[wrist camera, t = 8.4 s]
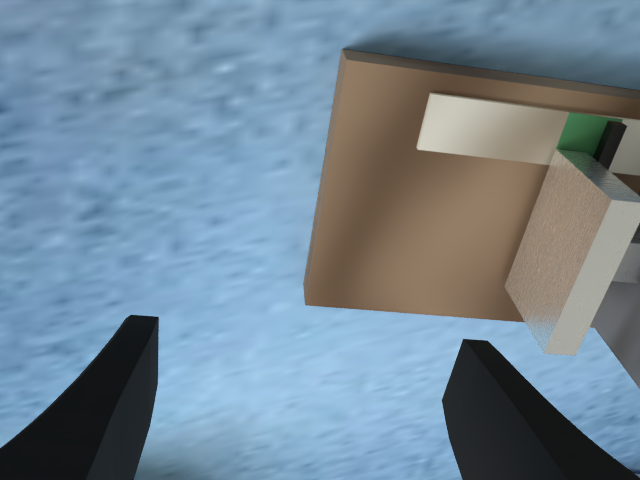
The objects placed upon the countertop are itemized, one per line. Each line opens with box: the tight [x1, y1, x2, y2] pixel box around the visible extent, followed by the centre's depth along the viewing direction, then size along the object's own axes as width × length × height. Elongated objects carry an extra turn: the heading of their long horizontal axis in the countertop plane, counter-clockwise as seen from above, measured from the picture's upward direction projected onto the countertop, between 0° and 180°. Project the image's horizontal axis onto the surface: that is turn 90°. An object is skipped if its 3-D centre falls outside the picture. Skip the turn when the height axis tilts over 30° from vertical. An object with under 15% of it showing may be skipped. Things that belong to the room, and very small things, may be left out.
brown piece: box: [303, 49, 640, 388], centre depth 21 cm, size 20×10×6 cm, turn 82°
